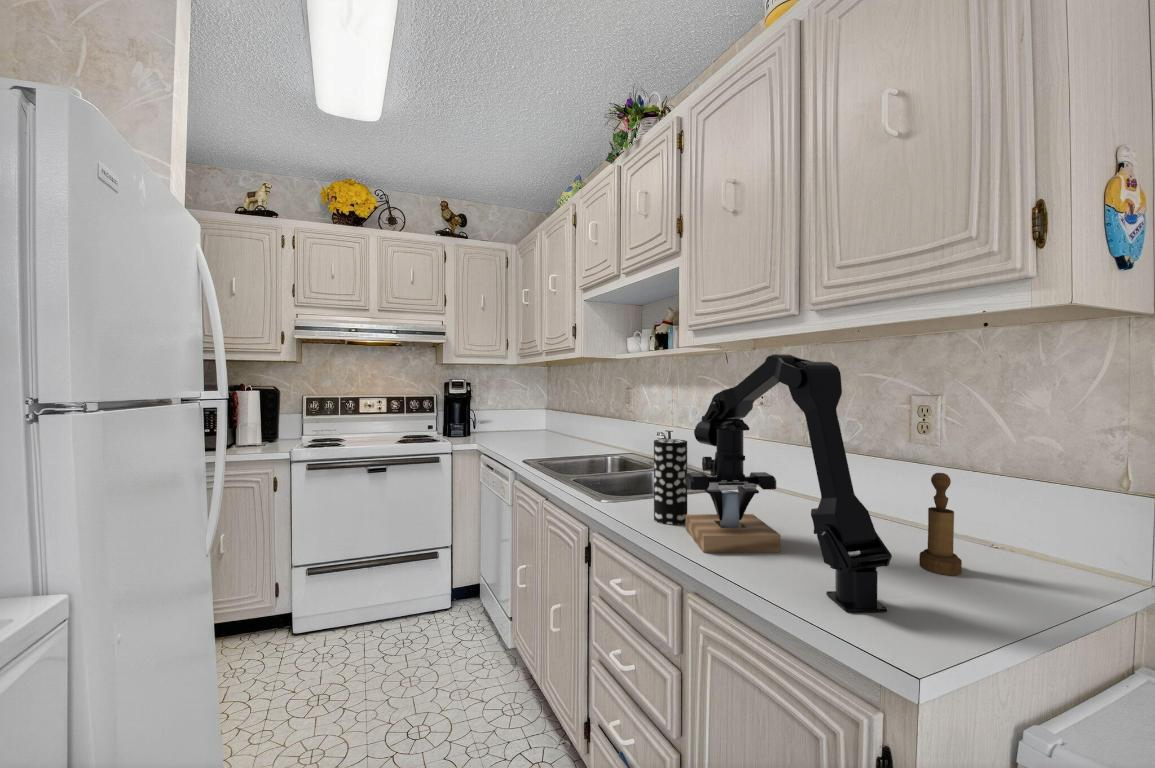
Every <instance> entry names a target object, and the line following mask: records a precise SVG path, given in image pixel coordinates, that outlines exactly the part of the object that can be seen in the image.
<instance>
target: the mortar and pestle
mask: <svg viewBox="0 0 1155 768" xmlns="http://www.w3.org/2000/svg"><path fill="white" fill-rule="evenodd" d="M930 481H931V485H932V486H933V487H934V489H935V494H934V496H933V501H934V504H935V506H931V507H928V508H927V513H928V514H927V518H928V519H927V524H928V525H927V527H928V528H927V548H925V549H924V550H923V551H920V553H919V559H918V560H919V567H920V568H922V569H923V570H926V571H928V572H932V573H935V574H939V575H944V576H945V575H946V576H959V575H961V574H962V572H963V571H962V570H963V569H962V568H963V567H962V566H963V563H962V561H963V560H962V559H961V558H960V557H959V556H958V555H957V554H956V553H954V538H955V537H954V536H955V535H954V532H955V530H954V529H955V528H954V526H955V511H954V510H952V509H949V508H947V505H948V503H949V497H947V496H946V492H947V490H948V488H949V487H950V486H951V483H952V482H951V481H952V480H951V478H950V476H949V475H948V474H946V473H944V472H935V473H934V474H932V476H931V478H930Z"/></svg>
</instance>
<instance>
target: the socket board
mask: <svg viewBox="0 0 1155 768" xmlns="http://www.w3.org/2000/svg"><path fill="white" fill-rule="evenodd" d="M685 530H686V532H687V533H688V534H689V536H690V537H691V538H692V539H693V541H694V542H695V543H696V545H697V546H698V547H699V550H701V551H702V553H705V554H706V553H707V554H708V553H709V554H710V553H714V554H715V553H780V552H782V550H781V549H782V548H781V547H782V546H781V545H782V543H781V541H782V538H781V537H782V536H781V534H780V533H779V532H777V531H776V530H775V529H773V528H772V527H771V526H769V525H768V524H767V523H765V522H764V521H763V520H762V519H760V518H759V517H757V516H756V515H755V514H754V513H744V515H743V517H742V519H741V520H739V528H721V527H720V520H719V518H718V515H717V513H716V514H714V513H713V514H711V513H710V514H709V513H707V514H704V513H703V514H687V515H686V523H685Z"/></svg>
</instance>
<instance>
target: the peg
mask: <svg viewBox="0 0 1155 768" xmlns="http://www.w3.org/2000/svg"><path fill="white" fill-rule="evenodd" d="M721 491H722V513H723V515H722V520H720V527H721V528H739V493H738V491H734V490H721Z"/></svg>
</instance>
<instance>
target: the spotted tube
mask: <svg viewBox="0 0 1155 768" xmlns="http://www.w3.org/2000/svg"><path fill="white" fill-rule="evenodd" d="M687 474H688V440H685V439H679V438H677V439H676V438H675V439H674V438H662V439H661V438H660V439H653V520H654V521H655V522H656V521H657V523H658V522H659V524H662V523H663V525H669V524H671V525H672V526H673V525H684V524H686V515H688V487H687V486H686V485H685V477H686V475H687ZM671 525H670V526H671Z"/></svg>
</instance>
